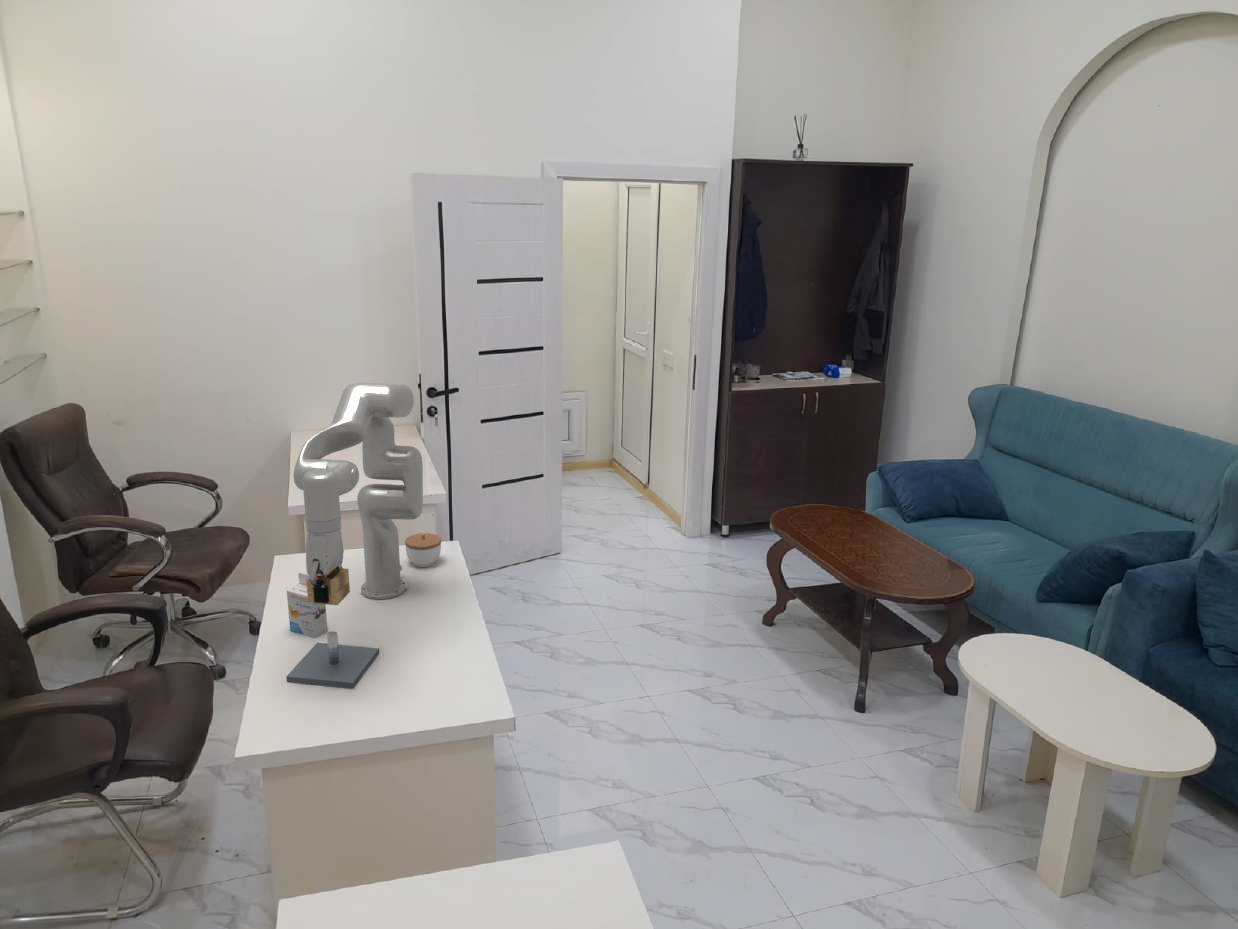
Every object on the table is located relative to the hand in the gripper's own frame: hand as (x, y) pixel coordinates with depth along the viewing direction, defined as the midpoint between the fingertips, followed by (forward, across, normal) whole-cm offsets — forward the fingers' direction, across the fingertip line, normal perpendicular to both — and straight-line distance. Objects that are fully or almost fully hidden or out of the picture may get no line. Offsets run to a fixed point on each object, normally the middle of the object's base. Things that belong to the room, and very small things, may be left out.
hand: (329, 594), depth 206 cm
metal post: (+18, 0, 0) cm, 18 cm away
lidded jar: (+20, -62, +1) cm, 65 cm away
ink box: (+20, -16, -14) cm, 29 cm away
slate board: (+19, 0, 0) cm, 19 cm away
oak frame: (+1, 0, 0) cm, 1 cm away
